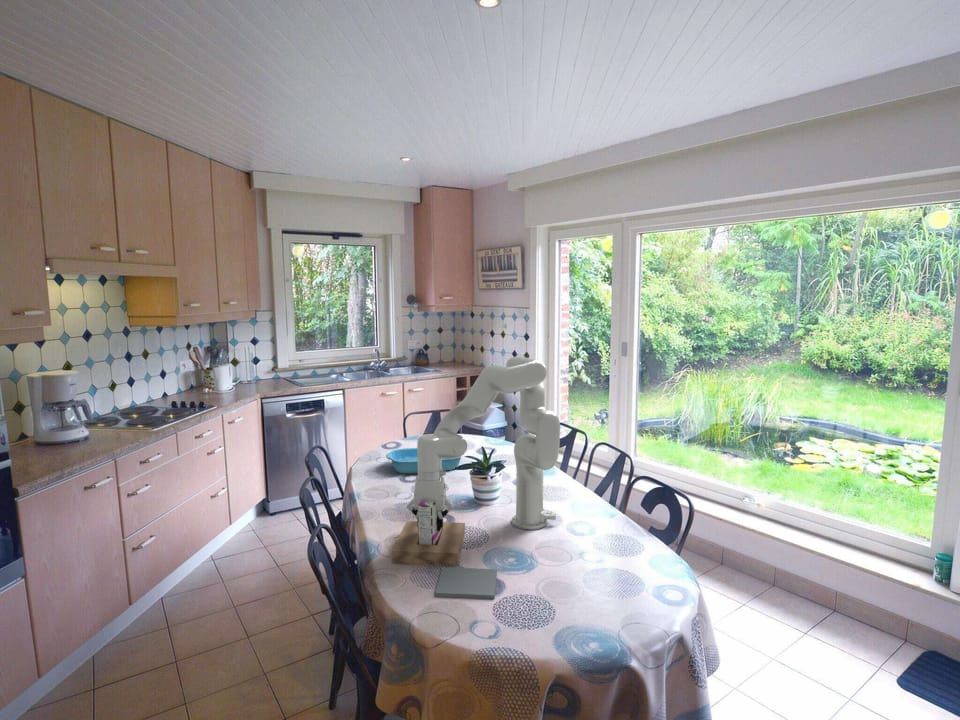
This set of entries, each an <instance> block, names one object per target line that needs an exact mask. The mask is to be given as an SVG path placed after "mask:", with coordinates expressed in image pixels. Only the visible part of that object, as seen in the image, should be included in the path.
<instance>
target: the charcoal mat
mask: <svg viewBox="0 0 960 720" xmlns="http://www.w3.org/2000/svg"><path fill="white" fill-rule="evenodd" d="M497 572H498V569H497V568H476V567H475V568H473V567H472V568H471V567H470V568H469V567H447V566H445V567H444V566H442V569H441V572H440V575H439V580H438V583H437V586H436V589H435V593H434V594H435V595H434V596H435V597H440V598H441V597H444V598H445V597H446V598H462V599H463V598H466V599H467V598H468V599H469V598H470V599H486V600H487V599H492V600H494V599H495V597H496V586H497V585H496V584H497V574H498V573H497Z"/></svg>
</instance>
